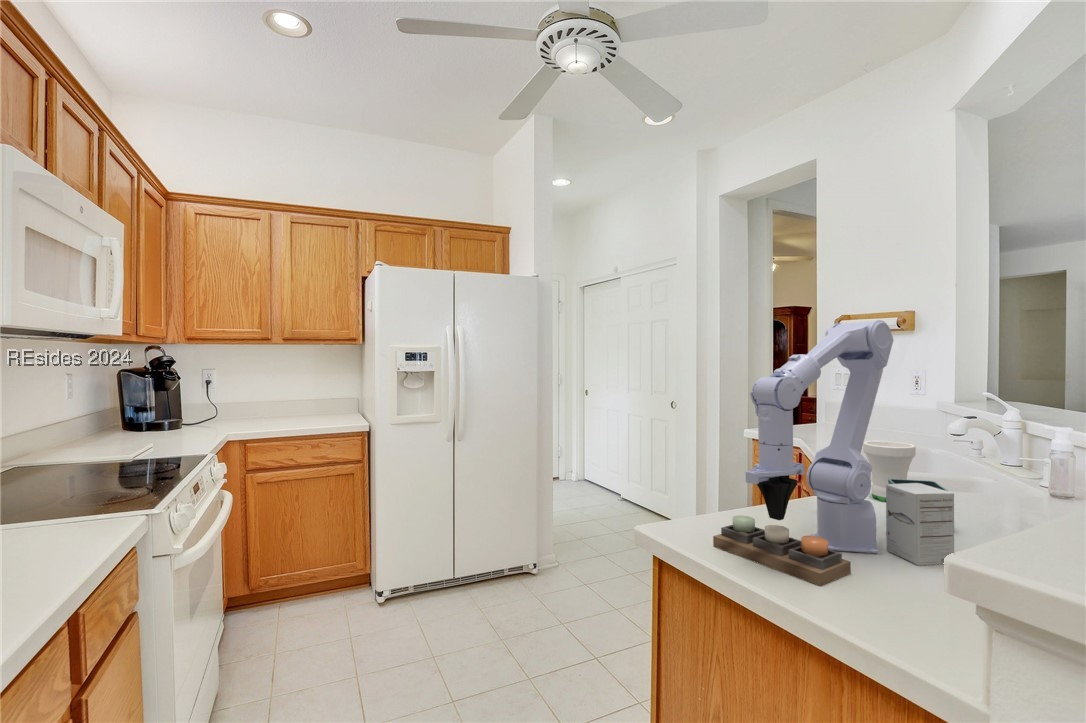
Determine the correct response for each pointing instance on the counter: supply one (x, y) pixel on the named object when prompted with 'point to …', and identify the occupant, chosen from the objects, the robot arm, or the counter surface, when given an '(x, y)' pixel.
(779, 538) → the cream button
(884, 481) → the cup
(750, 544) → the button board
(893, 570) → the counter surface
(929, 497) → the supplement box
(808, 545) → the terracotta button
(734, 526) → the sage button
